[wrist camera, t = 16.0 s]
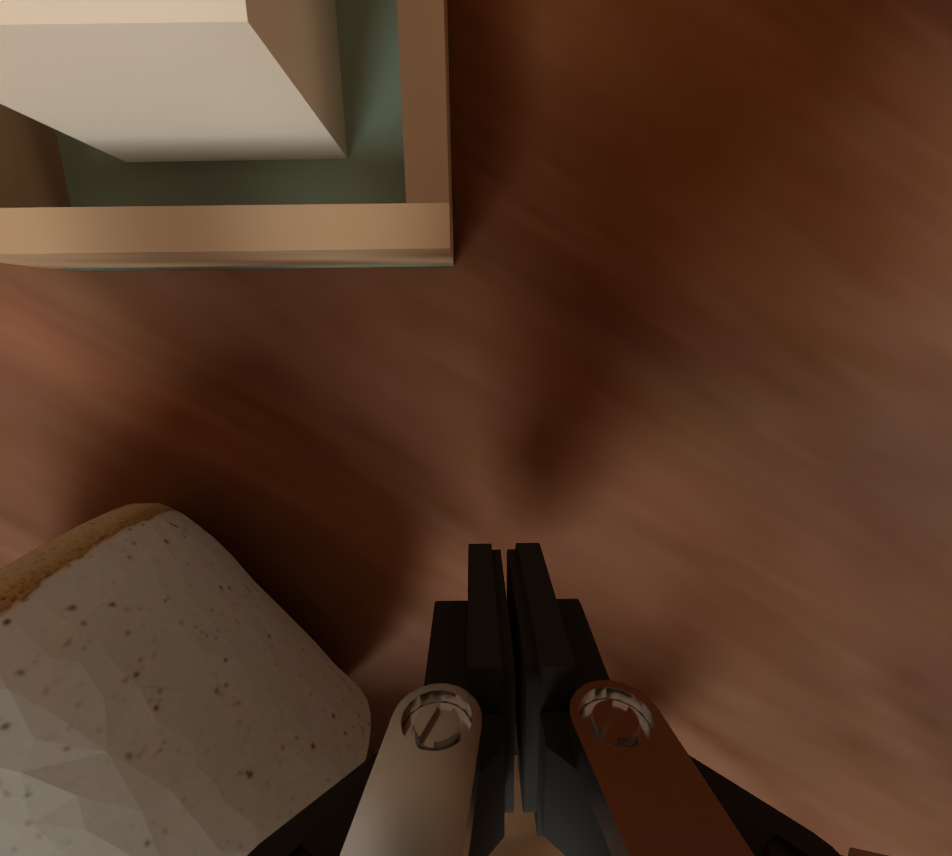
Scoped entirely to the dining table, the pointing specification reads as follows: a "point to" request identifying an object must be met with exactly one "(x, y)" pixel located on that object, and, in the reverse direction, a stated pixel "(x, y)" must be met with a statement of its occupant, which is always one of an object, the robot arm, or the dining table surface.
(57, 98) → the die
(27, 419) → the dining table surface
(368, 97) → the felt tray
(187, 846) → the ceramic mug
